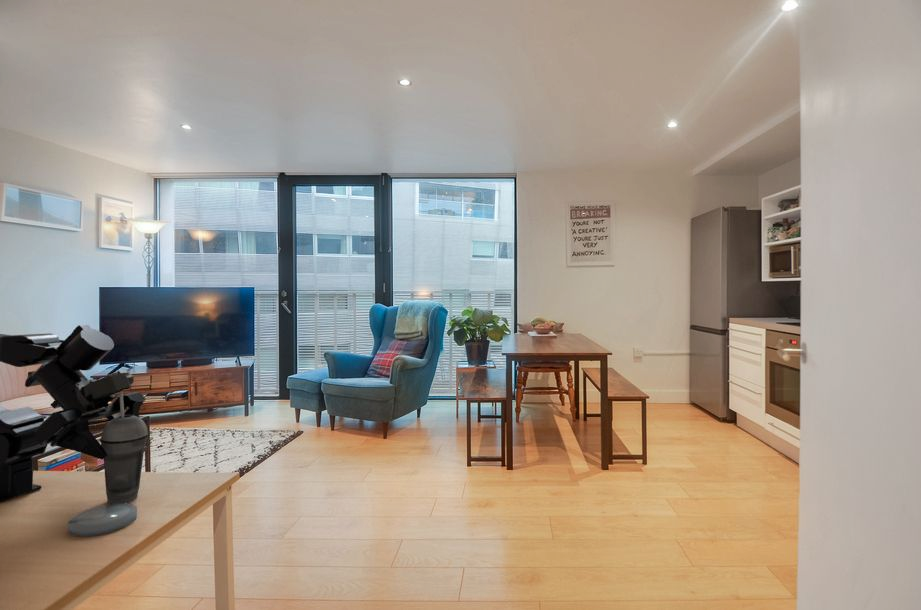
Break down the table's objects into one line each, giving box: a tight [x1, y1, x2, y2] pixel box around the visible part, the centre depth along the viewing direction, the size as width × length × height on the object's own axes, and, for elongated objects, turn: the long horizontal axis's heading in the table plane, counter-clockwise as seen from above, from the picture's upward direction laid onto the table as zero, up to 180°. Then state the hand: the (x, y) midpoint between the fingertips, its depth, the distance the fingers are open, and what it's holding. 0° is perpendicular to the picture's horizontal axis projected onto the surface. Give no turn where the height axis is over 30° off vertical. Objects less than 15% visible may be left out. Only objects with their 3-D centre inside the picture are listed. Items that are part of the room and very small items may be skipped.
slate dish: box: [67, 503, 138, 538], centre depth 75 cm, size 9×9×1 cm
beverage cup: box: [99, 390, 149, 505], centre depth 83 cm, size 7×7×20 cm
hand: (125, 449), depth 83 cm, fingers open, 9 cm apart
